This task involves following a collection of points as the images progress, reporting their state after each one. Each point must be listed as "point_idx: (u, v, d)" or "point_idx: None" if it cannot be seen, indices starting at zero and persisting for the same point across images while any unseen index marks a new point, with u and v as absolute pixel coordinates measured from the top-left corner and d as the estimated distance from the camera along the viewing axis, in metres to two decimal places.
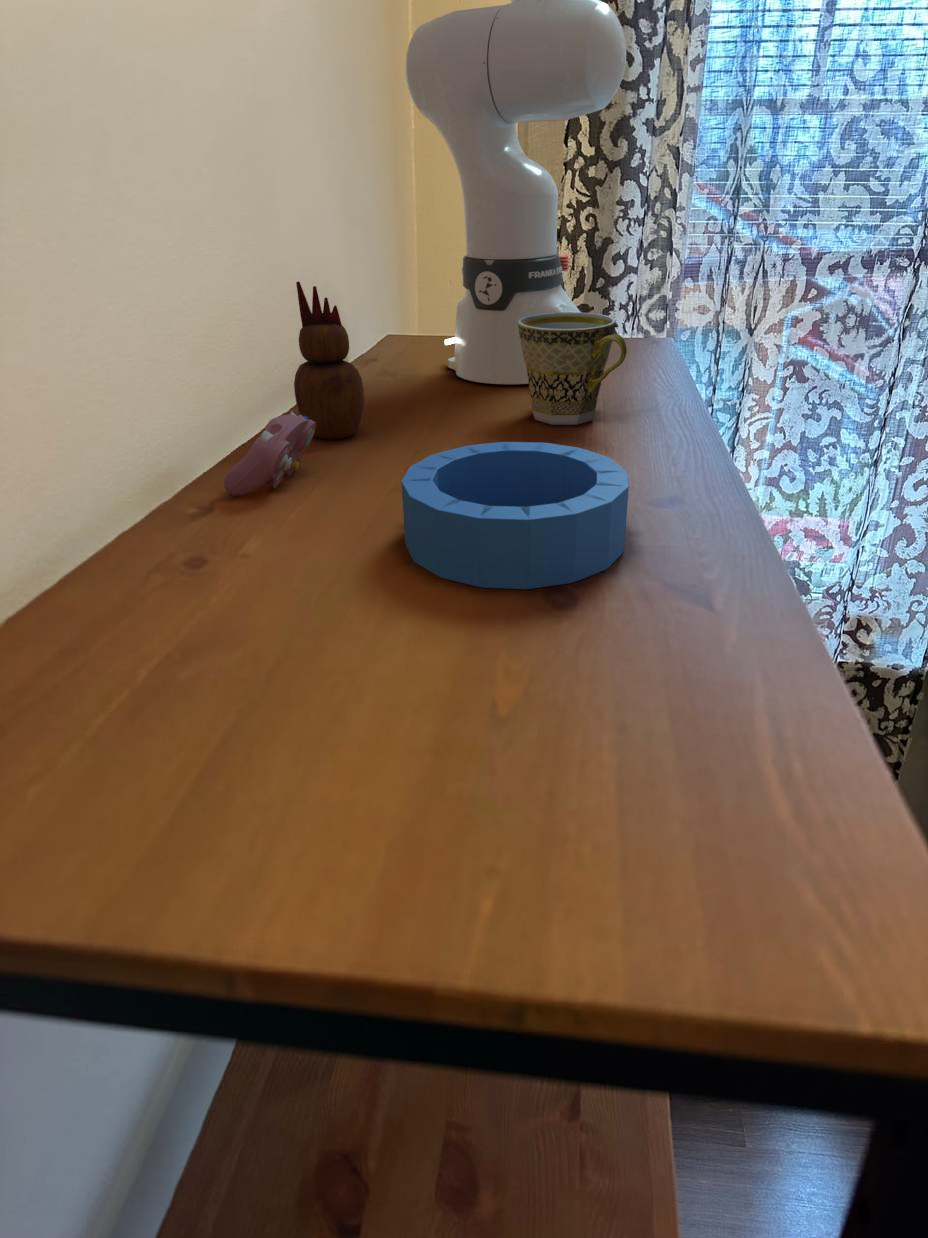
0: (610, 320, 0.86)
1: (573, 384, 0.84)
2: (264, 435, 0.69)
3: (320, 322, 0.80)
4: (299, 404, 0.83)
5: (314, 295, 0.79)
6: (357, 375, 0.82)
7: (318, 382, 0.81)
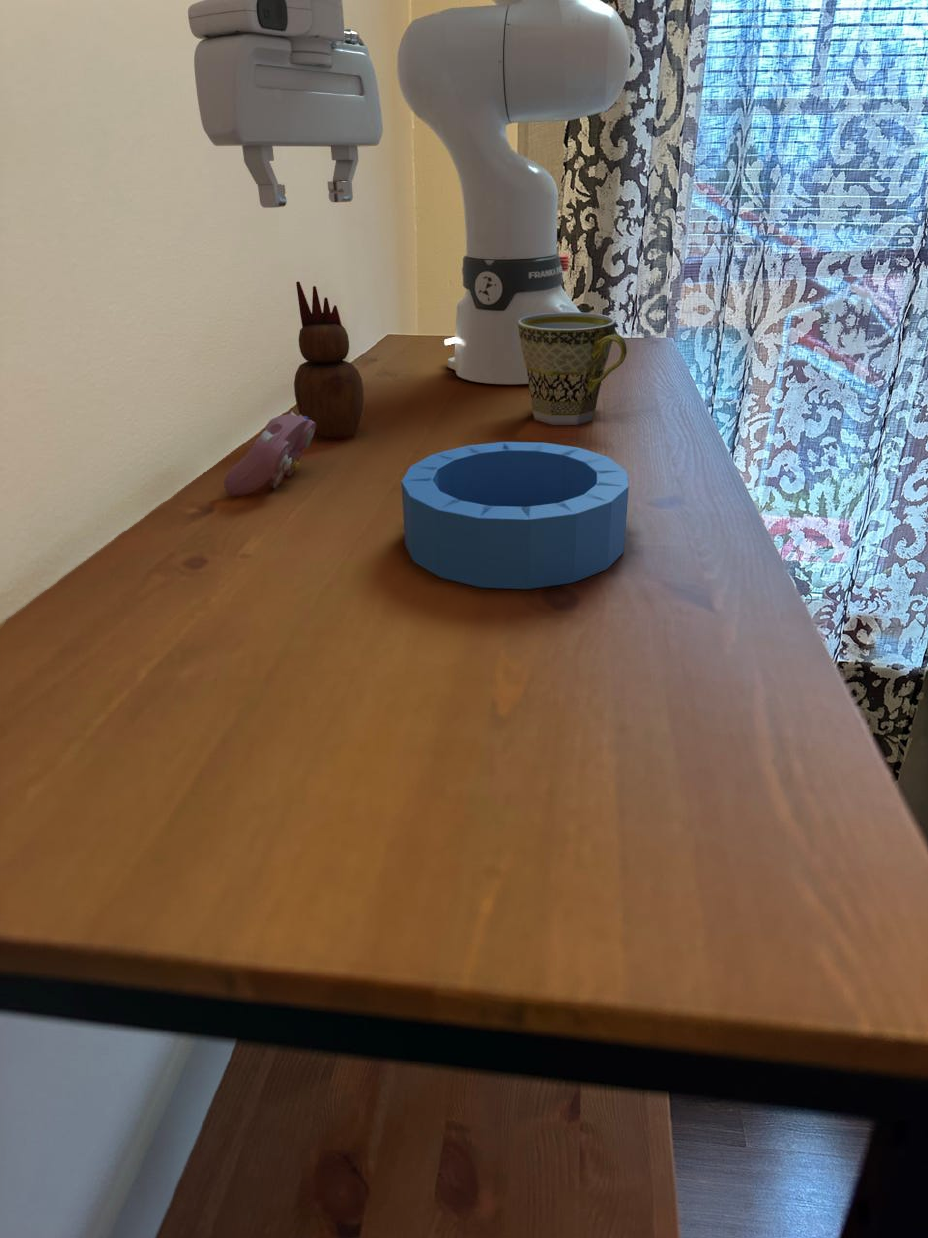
0: (610, 320, 0.86)
1: (573, 384, 0.84)
2: (264, 435, 0.69)
3: (320, 322, 0.80)
4: (299, 404, 0.83)
5: (314, 295, 0.79)
6: (357, 375, 0.82)
7: (318, 382, 0.81)
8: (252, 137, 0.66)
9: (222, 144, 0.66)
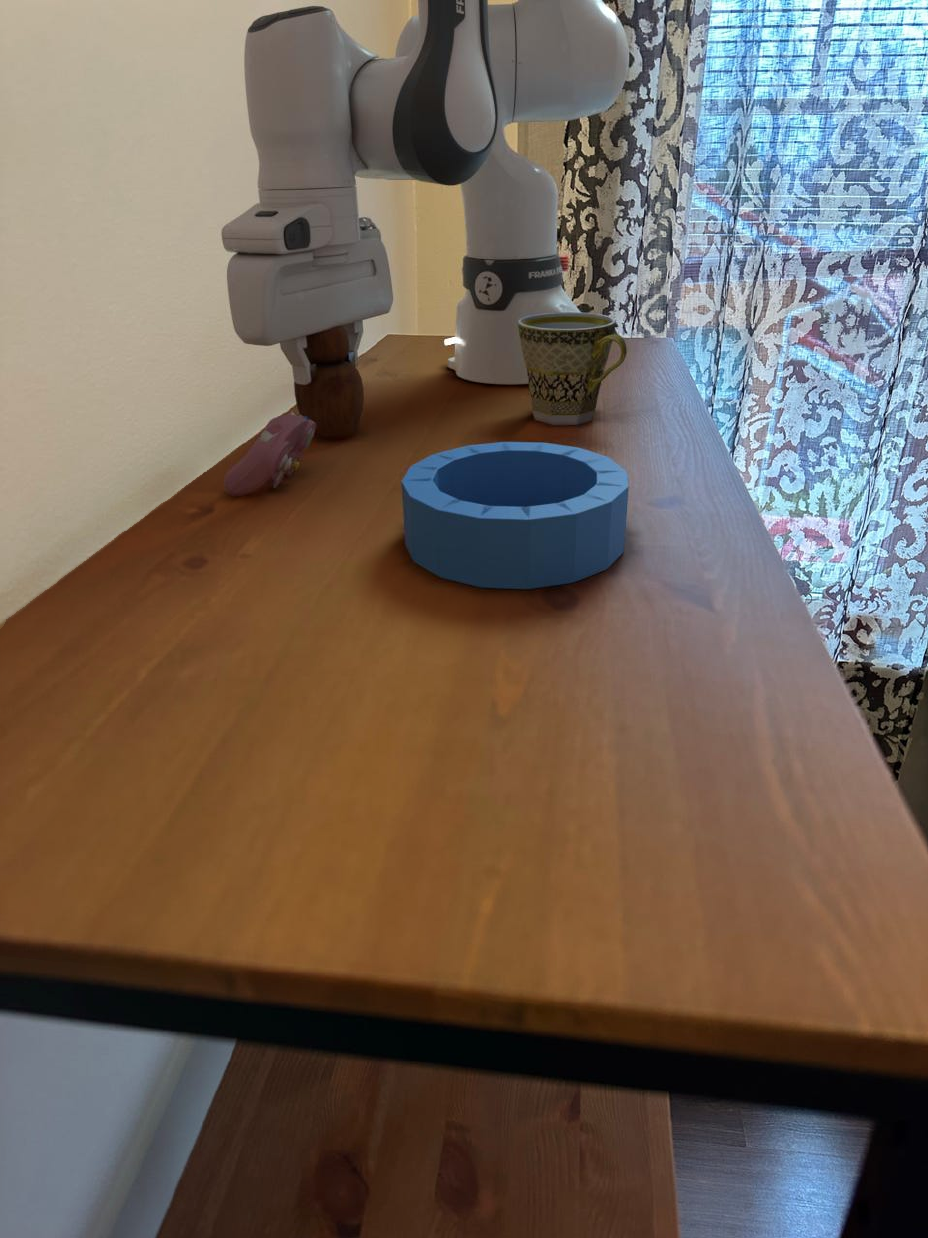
0: (610, 320, 0.86)
1: (573, 384, 0.84)
2: (264, 435, 0.69)
3: None
4: (299, 404, 0.83)
5: None
6: (357, 375, 0.82)
7: (318, 382, 0.81)
8: (278, 338, 0.74)
9: None
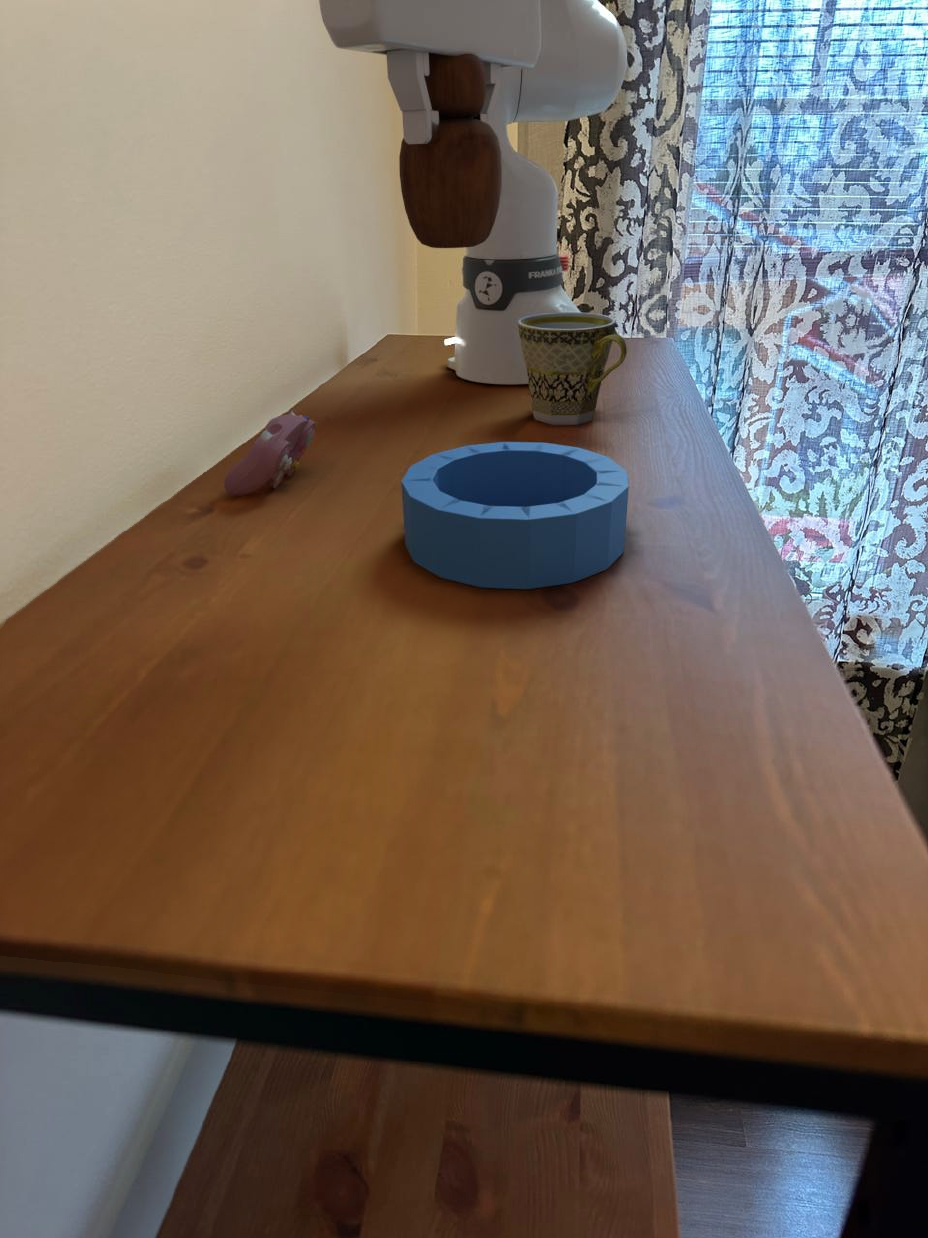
0: (610, 320, 0.86)
1: (573, 384, 0.84)
2: (264, 435, 0.69)
3: None
4: (407, 187, 0.54)
5: None
6: (497, 140, 0.54)
7: (441, 143, 0.52)
8: (394, 33, 0.45)
9: (349, 44, 0.45)
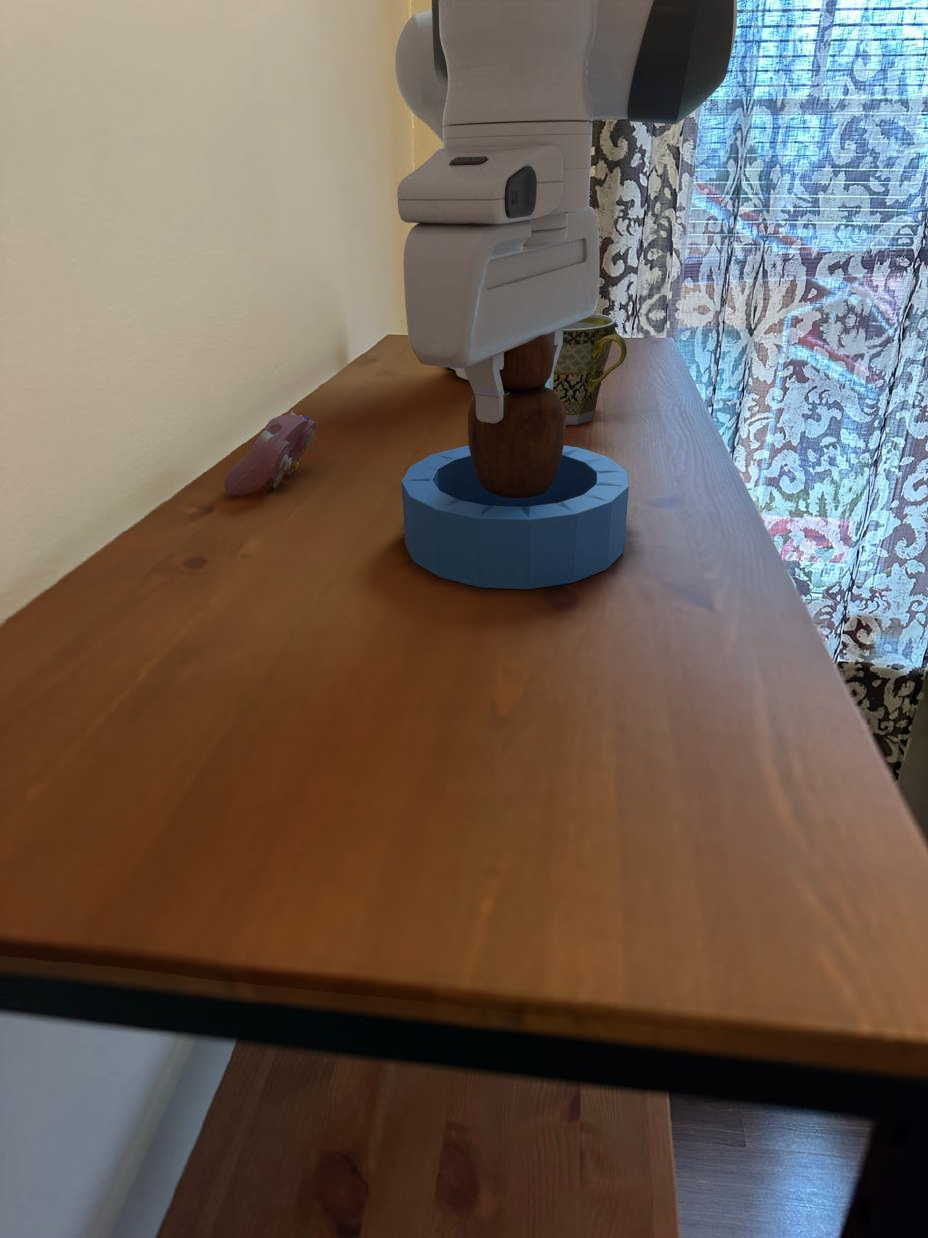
0: (610, 320, 0.86)
1: (573, 384, 0.84)
2: (264, 435, 0.69)
3: None
4: (476, 449, 0.57)
5: None
6: (562, 407, 0.56)
7: (511, 418, 0.55)
8: (477, 357, 0.48)
9: (435, 365, 0.48)
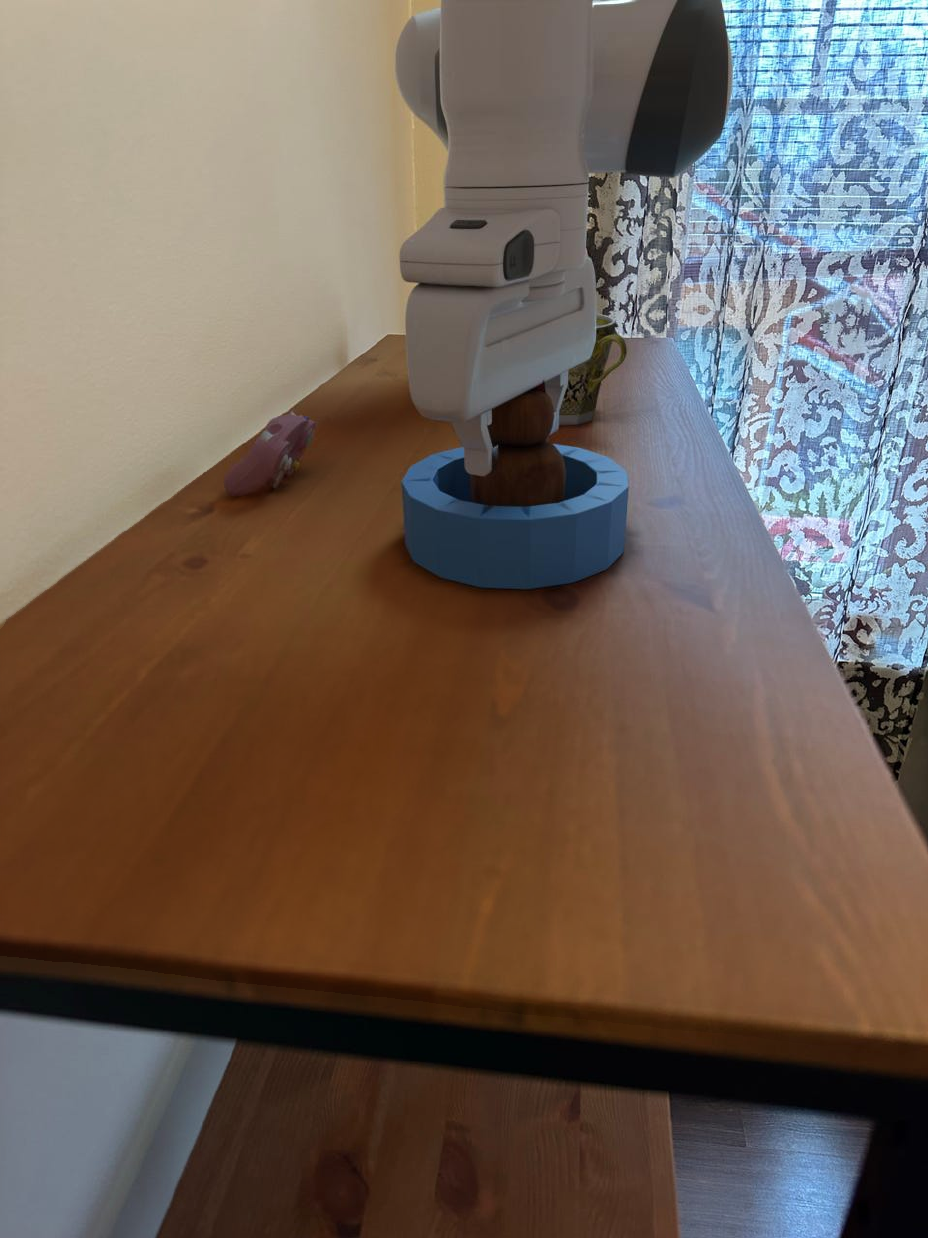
0: (610, 320, 0.86)
1: (573, 384, 0.84)
2: (264, 435, 0.69)
3: None
4: (479, 501, 0.59)
5: None
6: (562, 461, 0.58)
7: (512, 473, 0.57)
8: (477, 411, 0.49)
9: (436, 419, 0.49)
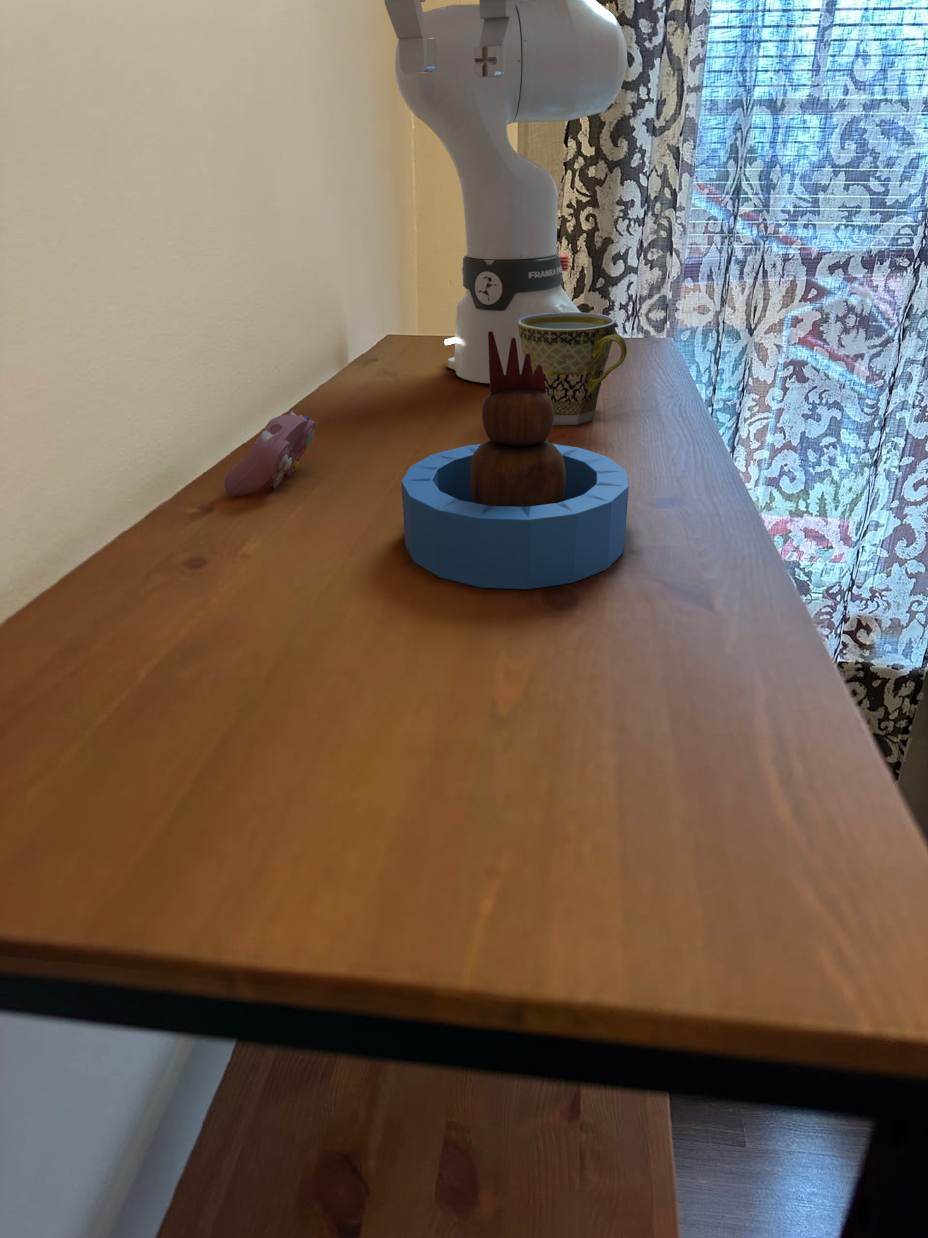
0: (610, 320, 0.86)
1: (573, 384, 0.84)
2: (264, 435, 0.69)
3: (517, 388, 0.56)
4: (479, 501, 0.59)
5: (512, 351, 0.55)
6: (562, 461, 0.58)
7: (512, 473, 0.57)
8: None
9: None
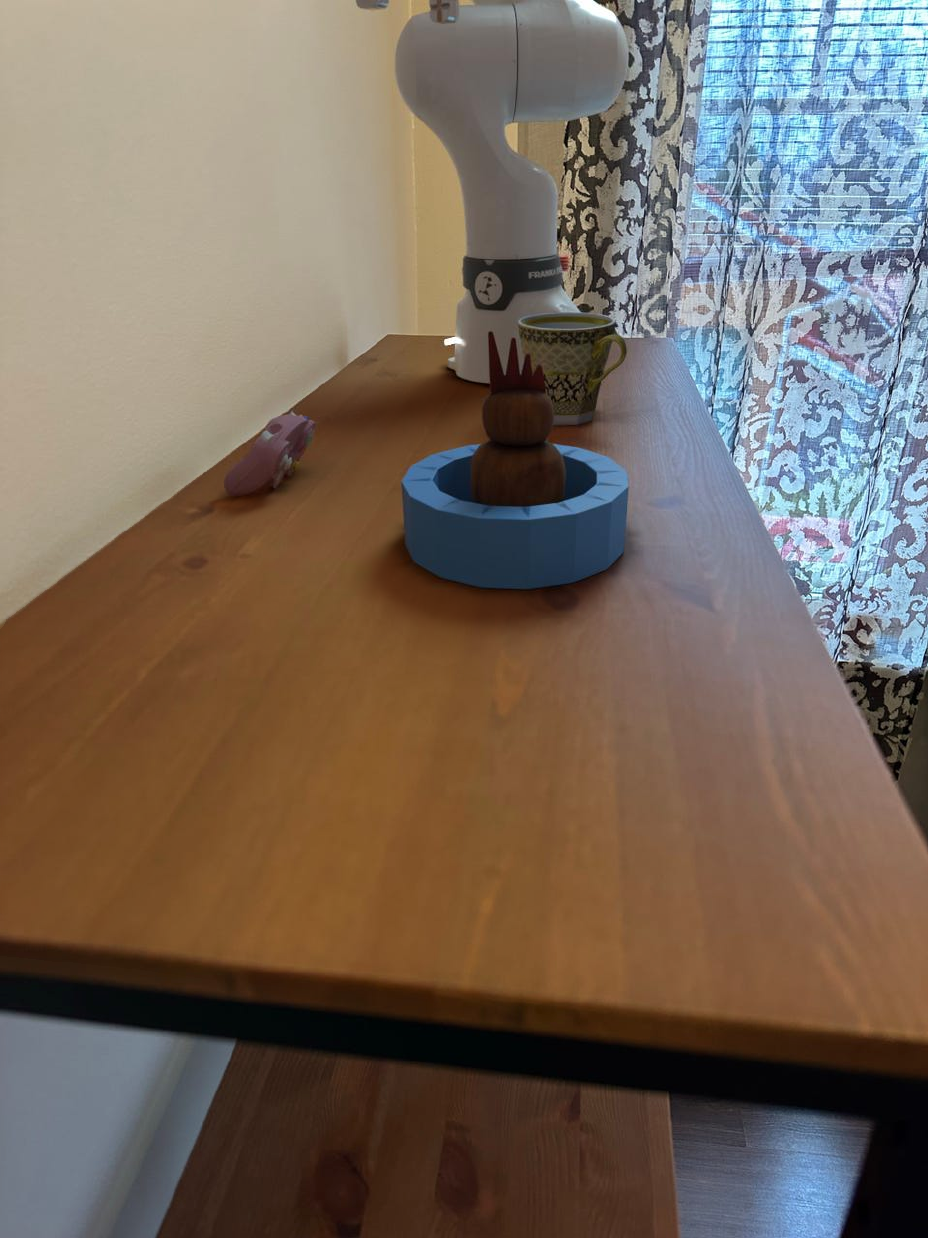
0: (610, 320, 0.86)
1: (573, 384, 0.84)
2: (264, 435, 0.69)
3: (517, 388, 0.56)
4: (479, 501, 0.59)
5: (512, 351, 0.55)
6: (562, 461, 0.58)
7: (512, 473, 0.57)
8: None
9: None
